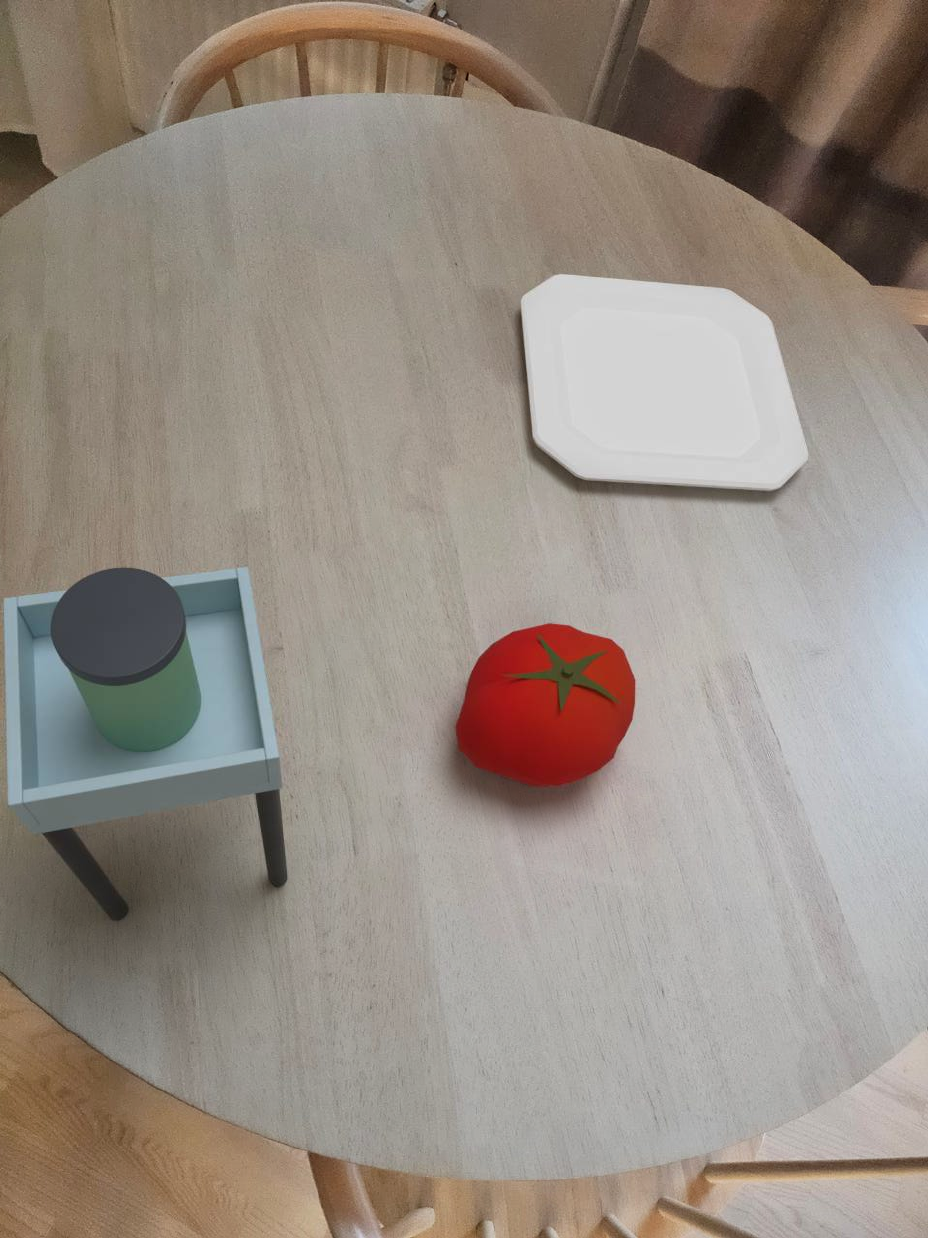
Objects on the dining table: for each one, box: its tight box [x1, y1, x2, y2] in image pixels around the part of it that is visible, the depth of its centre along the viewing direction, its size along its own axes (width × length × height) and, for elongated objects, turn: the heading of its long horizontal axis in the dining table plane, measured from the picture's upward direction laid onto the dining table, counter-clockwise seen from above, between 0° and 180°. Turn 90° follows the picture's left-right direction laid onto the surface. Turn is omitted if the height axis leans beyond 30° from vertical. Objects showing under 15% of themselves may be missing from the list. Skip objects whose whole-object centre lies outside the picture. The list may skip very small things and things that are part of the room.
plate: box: [519, 273, 810, 492], centre depth 86 cm, size 25×25×2 cm
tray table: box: [2, 566, 289, 922], centre depth 52 cm, size 11×10×22 cm
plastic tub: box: [50, 567, 201, 752], centre depth 42 cm, size 5×5×8 cm
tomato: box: [455, 622, 637, 788], centre depth 64 cm, size 11×13×10 cm
